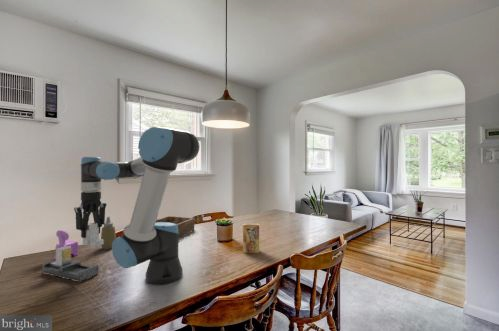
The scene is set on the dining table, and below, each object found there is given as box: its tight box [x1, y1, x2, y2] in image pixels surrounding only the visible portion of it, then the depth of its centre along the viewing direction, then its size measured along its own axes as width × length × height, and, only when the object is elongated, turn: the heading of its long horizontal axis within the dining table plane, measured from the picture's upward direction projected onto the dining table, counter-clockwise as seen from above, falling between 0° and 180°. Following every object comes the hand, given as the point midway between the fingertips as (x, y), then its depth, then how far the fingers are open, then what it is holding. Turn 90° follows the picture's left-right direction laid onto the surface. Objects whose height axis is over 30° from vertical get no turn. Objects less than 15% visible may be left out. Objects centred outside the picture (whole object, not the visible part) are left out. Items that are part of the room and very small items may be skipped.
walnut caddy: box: [156, 215, 195, 238], centre depth 164 cm, size 22×31×9 cm
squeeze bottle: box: [100, 216, 117, 250], centre depth 139 cm, size 8×8×18 cm
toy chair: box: [53, 229, 79, 259], centre depth 125 cm, size 8×9×15 cm
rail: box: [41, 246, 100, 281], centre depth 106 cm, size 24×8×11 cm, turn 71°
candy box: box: [242, 223, 260, 254], centre depth 133 cm, size 9×4×15 cm, turn 92°
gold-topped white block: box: [87, 221, 104, 248], centre depth 108 cm, size 8×4×9 cm, turn 68°
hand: (90, 242), depth 108 cm, fingers closed on gold-topped white block, 4 cm apart
